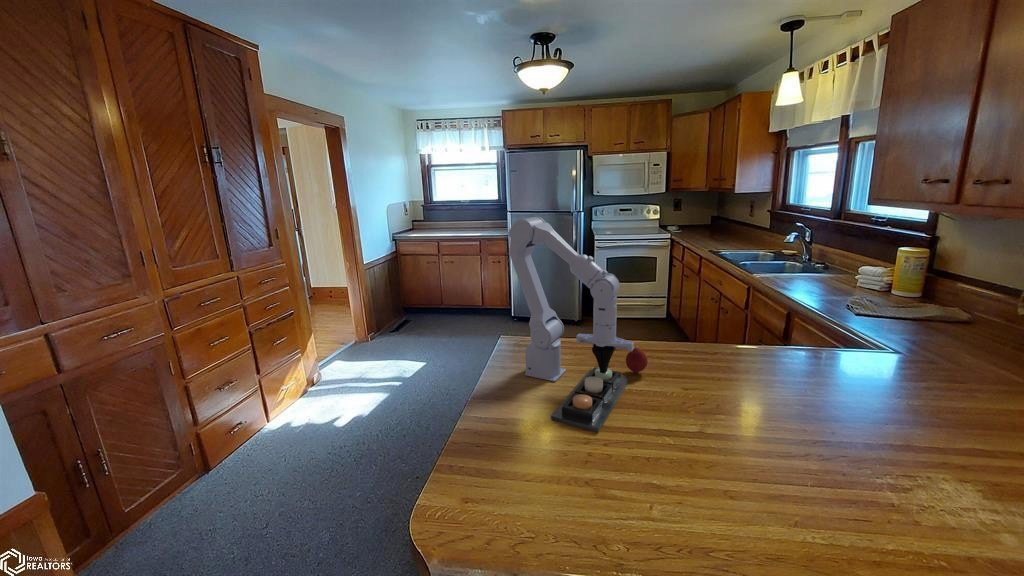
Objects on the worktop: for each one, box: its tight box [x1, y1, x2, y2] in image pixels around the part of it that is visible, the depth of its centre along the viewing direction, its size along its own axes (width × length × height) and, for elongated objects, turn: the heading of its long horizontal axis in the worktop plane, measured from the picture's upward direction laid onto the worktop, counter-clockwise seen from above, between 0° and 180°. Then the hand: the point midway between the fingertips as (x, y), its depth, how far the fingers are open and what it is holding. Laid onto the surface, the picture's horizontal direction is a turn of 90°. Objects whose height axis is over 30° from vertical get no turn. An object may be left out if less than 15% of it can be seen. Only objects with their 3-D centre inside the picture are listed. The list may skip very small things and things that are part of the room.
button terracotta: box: [573, 394, 592, 411], centre depth 95 cm, size 4×4×2 cm
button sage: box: [595, 367, 612, 381], centre depth 108 cm, size 4×4×2 cm
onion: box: [625, 345, 649, 374], centre depth 114 cm, size 6×6×8 cm
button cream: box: [585, 377, 603, 394], centre depth 101 cm, size 4×4×2 cm
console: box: [550, 366, 631, 434], centre depth 102 cm, size 11×27×3 cm, turn 151°
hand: (603, 371), depth 108 cm, fingers closed, pressing on button sage
